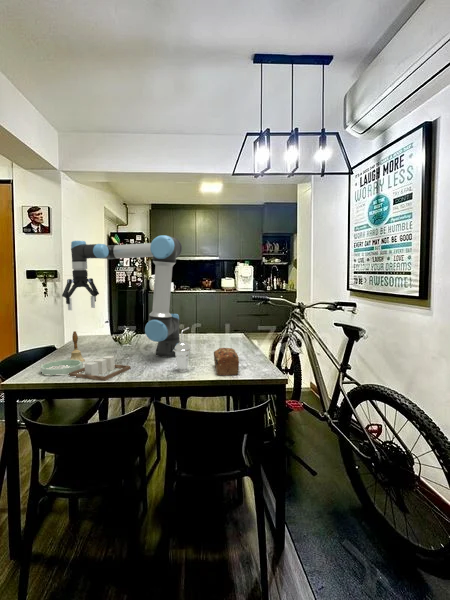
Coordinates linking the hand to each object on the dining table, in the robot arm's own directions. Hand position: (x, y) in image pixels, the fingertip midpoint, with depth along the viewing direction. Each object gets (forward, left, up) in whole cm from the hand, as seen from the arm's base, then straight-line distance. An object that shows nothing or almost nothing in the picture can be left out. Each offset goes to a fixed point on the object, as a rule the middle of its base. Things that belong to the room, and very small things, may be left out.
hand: (81, 309), depth 195 cm
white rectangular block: (-29, +28, -27) cm, 48 cm away
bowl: (-9, +25, -27) cm, 38 cm away
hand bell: (-3, +9, -27) cm, 28 cm away
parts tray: (-29, +22, -27) cm, 45 cm away
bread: (-83, 0, -27) cm, 87 cm away
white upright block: (-29, +16, -27) cm, 43 cm away
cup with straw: (-64, +7, -27) cm, 70 cm away
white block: (-29, +22, -27) cm, 45 cm away
